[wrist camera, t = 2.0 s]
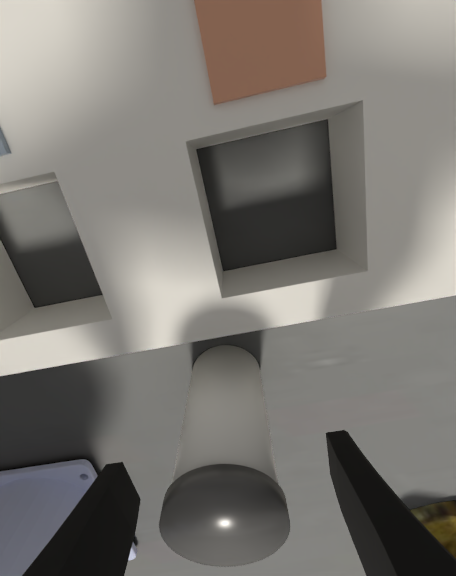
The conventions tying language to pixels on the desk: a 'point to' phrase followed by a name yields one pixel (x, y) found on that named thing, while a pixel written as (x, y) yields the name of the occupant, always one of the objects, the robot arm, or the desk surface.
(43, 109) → the white flat block
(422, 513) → the mottled yellow lump
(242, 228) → the desk surface
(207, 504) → the plug
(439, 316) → the desk surface
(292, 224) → the desk surface
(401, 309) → the desk surface
